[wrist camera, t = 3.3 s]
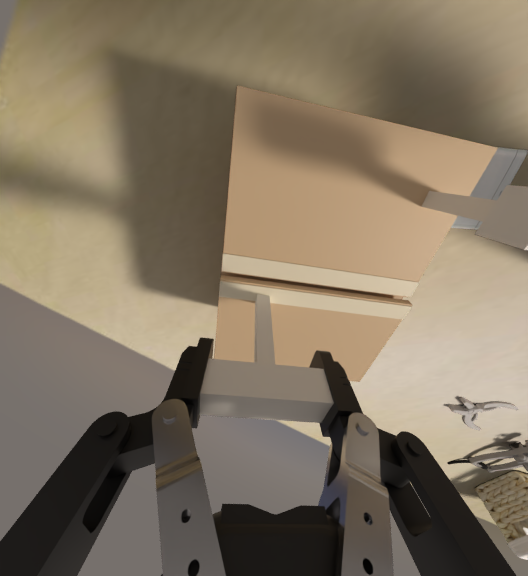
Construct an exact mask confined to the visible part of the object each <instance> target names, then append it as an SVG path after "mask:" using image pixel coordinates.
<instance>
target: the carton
mask: <svg viewBox="0 0 528 576" xmlns="http://www.w3.org/2000/svg"><path fill="white" fill-rule="evenodd" d="M497 149H498V148H496V147H492V146H488V145H484V144H480V143H476V142H471V141H467V140H463V139H459V138H455V137H451V136H446V135H442V134H438V133H434V132H430V131H425V130H421V129H417V128H413V127H409V126H405V125H400V124H396V123H392V122H388V121H384V120H380V119H375V118H371V117H367V116H363V115H359V114H355V113H350V112H346V111H342V110H338V109H334V108H329V107H325V106H321V105H317V104H313V103H309V102H304V101H300V100H296V99H292V98H288V97H284V96H279V95H275V94H271V93H267V92H263V91H259V90H254V89H250V88H246V87H242V86H238V85H237V88H236V100H235V112H234V124H233V136H232V148H231V160H230V172H229V184H228V196H227V209H226V221H225V233H224V245H223V257H222V269H221V275H225V276H232V277H240V278H247V279H254V280H262V281H269V282H276V283H284V284H291V285H298V286H306V287H313V288H320V289H328V290H335V291H342V292H350V293H357V294H364V295H372V296H379V297H386V298H393V299H401V300H402V299H403V297H411V296H412V294H413V293H414V291H415V289H416V288H417V286H418V284H419V281H420V279H421V277H422V275H423V274H424V272H425V270H426V269H427V267H428V265H429V264H430V262H431V260H432V259H433V257H434V255H435V254H436V252H437V250H438V248H439V247H440V245H441V243H442V242H443V240H444V238H445V237H446V235H447V233H448V232H449V230H450V228H451V227H452V225H453V223H454V221H455V220H456V218H457V216H461V217H465V218H470V219H474V220H478V221H482V224H481V225H480V227H479V228H478V230H477V232H476V233H475V235H478V236H481V237H485V238H488V239H491V240H494V241H498V242H501V243H504V244H507V245H510V246H514V247H517V248H520V249H523V250H528V186H515V185H507V186H506V187H505V189H504V190H503V192H502V193H501V195H500V196H499V198H498V200H491V199H484V198H477V197H470V194H471V193H472V191H473V189H474V188H475V186H476V184H477V183H478V181H479V179H480V178H481V176H482V174H483V173H484V171H485V169H486V168H487V166H488V164H489V162H490V161H491V159H492V157H493V156H494V154H495V152H496V151H497ZM215 342H216V341H215ZM214 355H215V353H214Z"/></svg>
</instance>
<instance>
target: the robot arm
mask: <svg viewBox="0 0 528 576" xmlns="http://www.w3.org/2000/svg"><path fill="white" fill-rule="evenodd" d="M213 341H214V339H210V338H200V340H199V343H198V346H197V347H193V346H189V347H188V348H187V349H186V350H185V351H184V352H183V353H182V355H181V358H180V360H179V363H178V365H177V368H176V370H175V373H174V376H173V378H172V381H171V383H170V386H169V388H168V391H167V393H166V396H165V398H164V400H163V401H162V402H161V404H160V405H159V406H158V407H156V408H155V409H153V410H151V411H149V412H147V413H143V414H139V415H135V416H131V417H127V415H126V414H124V413H122V412H111V413H107V414H105V415H103V416H101V417H100V418H98V419H97V420H96V421H95V422H94V423H92V425H91V426H90V427H89V428H88V430H87V431H86V432H85V433H84V435H83V436H82V437H81V439H80V440H79V441H78V442H77V444H76V445H75V446H74V448H73V449H72V450H71V451H70V453H69V454H68V455H67V457H66V458H65V459H64V460H63V462H62V463H61V464H60V466H59V467H58V468H57V469H56V471H55V472H54V473H53V475H52V476H51V477H50V478H49V480H48V481H47V482H46V484H45V485H44V486H43V487H42V489H41V490H40V491H39V493H38V494H37V495H36V496H35V498H34V499H33V500H32V502H31V503H30V504H29V505H28V507H27V508H26V509H25V510H24V512H23V513H22V514H21V516H20V517H19V518H18V519H17V521H16V522H15V523H14V525H13V526H12V527H11V529H10V530H9V531H8V533H7V534H6V535H5V536H4V537H3V539H2V540H1V541H0V576H77V575H78V573H79V571H80V569H81V567H82V565H83V563H84V562H85V560H86V558H87V556H88V554H89V552H90V550H91V548H92V546H93V544H94V543H95V540H96V539H97V537H98V535H99V533H100V531H101V529H102V527H103V525H104V523H105V522H106V520H107V518H108V516H109V514H110V512H111V510H112V508H113V506H114V504H115V502H116V501H117V499H118V497H119V495H120V493H121V491H122V489H123V487H124V485H125V483H126V482H127V480H128V478H129V476H130V474H131V472H132V471H133V470H136V469H139V468H142V467H145V466H148V465H151V464H154V463H155V469H156V492H157V504H158V518H159V531H160V542H161V543H160V544H161V557H162V569H163V574H162V575H161V576H394V572H393V571H394V570H393V556H392V555H393V554H392V539H391V524H390V511H391V513H392V516H393V518H394V520H395V522H396V524H397V526H398V528H399V530H400V532H401V535H402V537H403V539H404V541H405V543H406V545H407V547H408V549H409V551H410V554H411V555H412V557H413V560H414V562H415V564H416V566H417V568H418V570H419V572H420V575H421V576H516V574H515V573H514V571H513V570H512V569H511V567H510V566H509V564H508V563H507V562H506V560H505V559H504V557H503V556H502V554H501V553H500V552H499V550H498V549H497V547H496V546H495V544H494V543H493V542H492V540H491V539H490V537H489V536H488V534H487V533H486V532H485V530H484V529H483V527H482V526H481V524H480V523H479V522H478V520H477V519H476V517H475V516H474V514H473V513H472V512H471V510H470V509H469V507H468V506H467V504H466V503H465V502H464V500H463V499H462V497H461V496H460V494H459V493H458V492H457V490H456V489H455V487H454V486H453V484H452V483H451V482H450V480H449V479H448V477H447V476H446V474H445V473H444V472H443V470H442V469H441V467H440V466H439V464H438V463H437V462H436V460H435V459H434V457H433V456H432V454H431V453H430V452H429V450H428V449H427V447H426V446H425V445H424V443H423V442H422V441H421V440H420V439H419V438H417V437H416V436H415V435H413V434H411V433H409V432H400V433H399V434H398V435H397V436H395V435H393V434H390V433H388V432H385V431H383V430H381V429H378V428H377V427H376V425H375V424H374V423H373V421H372V420H371V419H370V418H368V417H367V416H366V415H364V414H363V412H362V410H361V408H360V405H359V403H358V401H357V398H356V396H355V394H354V391H353V389H352V386H351V384H350V382H349V379H348V377H347V375H346V372H345V370H344V368H343V367H342V366H341V365H340V364H339V362H337V361H334V360H333V358H332V355H331V353H330V352H328V351H319V350H317V351H316V352H315V354H314V356H313V359H312V361H311V364H310V366H309V368H319V369H324V372H325V375H326V379H327V382H328V385H329V389H330V392H331V396H332V399H333V402H334V403H333V405H332V407H331V408H330V410H329V411H328V413H327V414H326V416H325V418H324V419H323V421H322V422H321V423H320V427H321V431H322V435H323V436H324V437H330V438H331V442H332V443H331V445H330V448H329V455H328V462H327V468H326V475H325V481H324V487H323V491H322V494H321V497H320V500H319V504H318V506H299V507H296V508H294V509H291V510H288V511H285V512H283V513H280V514H277V515H274V514H271V513H269V512H266V511H264V510H261V509H259V508H256V507H254V506H251V505H248V504H222V509H221V511H220V512H217V513H215V514H213V515H212V511H211V506H210V501H209V497H208V492H207V488H206V483H205V479H204V474H203V470H202V465H201V462H200V459H199V457H198V455H197V451H196V447H195V442H194V437H193V433H192V428H197V426H198V421H199V418H200V392H201V388H202V384H203V380H204V375H205V371H206V367H207V363H208V359H209V358H210V359H212V354H213ZM410 482H411V484H412V485H413V487H414V489H415V491H416V492H417V494H418V496H419V498H420V499H421V501H422V503H423V504H424V506H425V508H426V510H427V511H428V513H429V515H430V517H429V515H428V513H427V511H426V510H425V508H424V506H423V504H422V503H421V501H420V499H419V498H418V496H417V494H416V492H415V491H414V489H413V487H412V485H411V484H410Z"/></svg>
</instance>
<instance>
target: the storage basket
mask: <svg viewBox="0 0 528 576" xmlns="http://www.w3.org/2000/svg"><path fill="white" fill-rule="evenodd" d="M475 490H476V492H477V493H478V495H479V497H480V499H481V500H482V501H483V502H484V505H485V507H486V509H487V510H488V511H489V513H490V515H491V517H492V519H493V520H494V521H495V522H496V524H497V526H498V527H499V529H500V530H501V532H502V534H503V535H504V537H505V538H506V541H507V542H508V543H507V545H508V546H509V547H510V549H511V550H512V551H513V552H514V553H515V555H516V556H518V557H519V558H522V559H526V560H528V474H523V473H521V472H517V471H511V472H509V473H507V474H505V475H502V476H500V477H498V478H495V479H492V480H491V481H487V482H486V483H484V484H480V485H479V486H478V487H476V488H475ZM485 501H487V502H485Z"/></svg>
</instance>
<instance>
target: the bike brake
mask: <svg viewBox="0 0 528 576" xmlns="http://www.w3.org/2000/svg"><path fill="white" fill-rule="evenodd" d="M525 442H526V443H525V444H526V445H527V447H526V446H523V445H522V444H521V442H519V443H514V444H511V445H509V446H510V448H511V449H512V450H508V451H502V452H496V453H489V454H484V455H479V456H475V457H470V458H469V460H457V461H451V462H448V464H454V463H471V464H473V465H475V466H477V467H481V468H483V469H488V470H487V471H488V472H494V471H501V470H508V469H513V468H518V467H523V466H524V468H525V469H526V470H527V471H528V440H525ZM504 458H514V459H515V460H516V461H513V462H510V463H506V464H501V465H493V466H490V464H488V465H485V464H484V463H481V462H483V461H487V460H494V459H504ZM491 468H492V469H491Z"/></svg>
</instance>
